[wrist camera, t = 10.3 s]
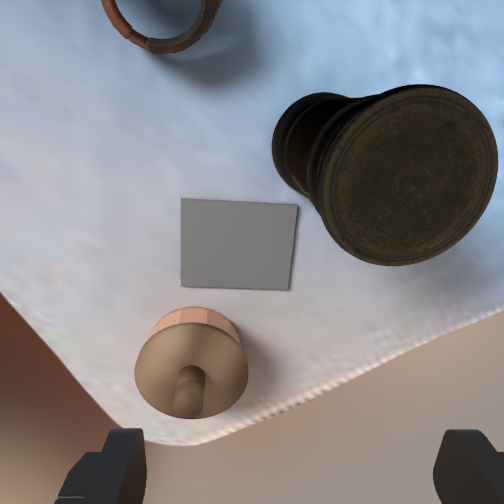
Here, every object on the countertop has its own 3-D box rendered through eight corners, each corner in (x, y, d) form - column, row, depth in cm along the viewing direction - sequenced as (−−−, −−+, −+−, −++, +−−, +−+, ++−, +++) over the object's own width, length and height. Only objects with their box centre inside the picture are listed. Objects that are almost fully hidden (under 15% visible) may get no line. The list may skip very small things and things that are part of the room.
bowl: (242, 308, 39) (243, 329, 35) (236, 381, 42) (237, 407, 39) (148, 305, 38) (140, 326, 34) (151, 380, 42) (143, 407, 38)
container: (361, 195, 35) (483, 273, 19) (269, 195, 35) (308, 275, 18) (374, 93, 32) (537, 77, 15) (272, 91, 31) (324, 73, 15)
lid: (251, 323, 35) (254, 356, 30) (244, 411, 39) (246, 453, 34) (134, 320, 34) (119, 354, 29) (139, 411, 38) (127, 453, 33)
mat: (296, 204, 35) (297, 205, 35) (287, 288, 38) (287, 289, 38) (181, 198, 34) (180, 199, 34) (181, 284, 37) (180, 286, 37)
